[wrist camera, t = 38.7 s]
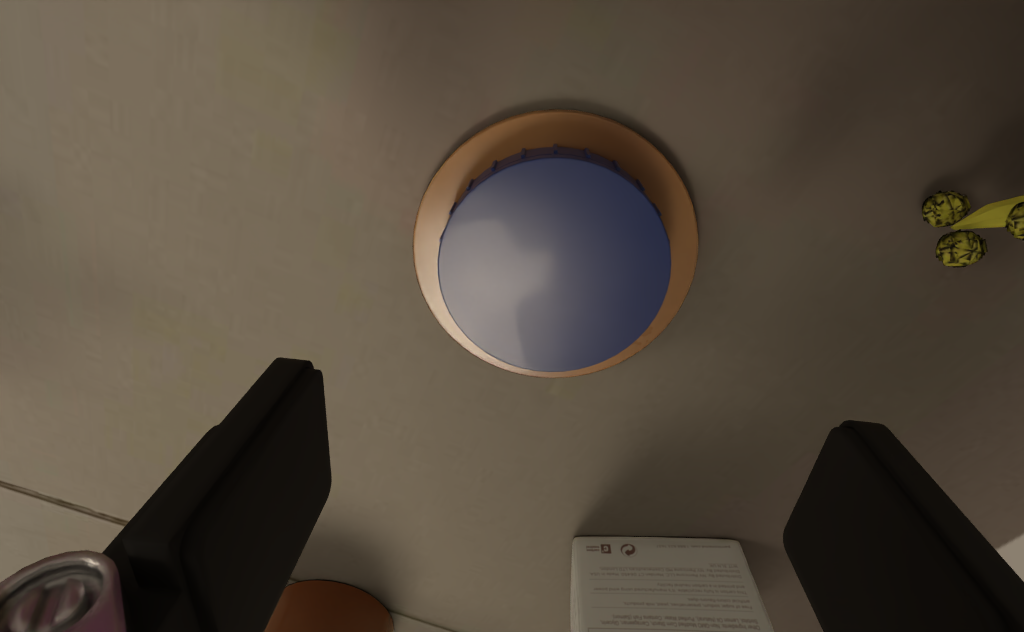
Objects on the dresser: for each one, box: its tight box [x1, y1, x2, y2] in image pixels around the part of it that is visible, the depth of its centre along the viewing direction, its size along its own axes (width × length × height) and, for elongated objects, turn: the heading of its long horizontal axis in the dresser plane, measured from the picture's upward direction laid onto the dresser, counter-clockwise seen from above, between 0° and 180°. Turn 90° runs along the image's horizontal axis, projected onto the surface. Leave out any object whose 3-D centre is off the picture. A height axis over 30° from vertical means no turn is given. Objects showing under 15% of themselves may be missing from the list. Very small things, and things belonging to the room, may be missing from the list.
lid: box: [438, 144, 671, 372], centre depth 16 cm, size 7×7×2 cm
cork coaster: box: [413, 109, 698, 378], centre depth 17 cm, size 9×9×1 cm
